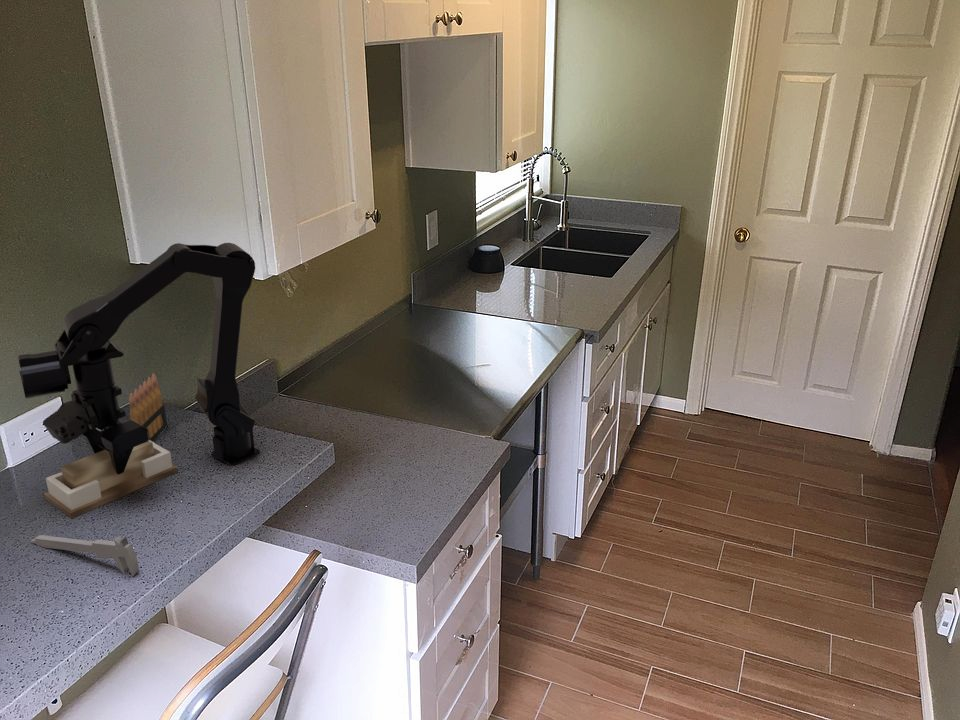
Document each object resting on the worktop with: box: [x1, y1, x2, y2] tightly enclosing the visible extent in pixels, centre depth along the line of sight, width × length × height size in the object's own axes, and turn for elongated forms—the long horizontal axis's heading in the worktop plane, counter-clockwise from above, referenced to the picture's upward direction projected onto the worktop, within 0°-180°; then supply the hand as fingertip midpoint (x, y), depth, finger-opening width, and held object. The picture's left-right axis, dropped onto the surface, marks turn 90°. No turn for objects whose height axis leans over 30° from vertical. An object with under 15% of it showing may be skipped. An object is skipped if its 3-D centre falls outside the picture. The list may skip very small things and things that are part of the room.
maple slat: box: [60, 441, 154, 491], centre depth 134 cm, size 14×4×5 cm, turn 143°
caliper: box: [29, 534, 140, 577], centre depth 116 cm, size 20×1×6 cm, turn 69°
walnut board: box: [43, 463, 179, 519], centre depth 135 cm, size 19×9×1 cm, turn 142°
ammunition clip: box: [128, 372, 168, 443], centre depth 148 cm, size 11×2×12 cm, turn 176°
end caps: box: [45, 440, 173, 510], centre depth 134 cm, size 18×8×3 cm, turn 142°
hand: (110, 467), depth 134 cm, fingers open, 6 cm apart
